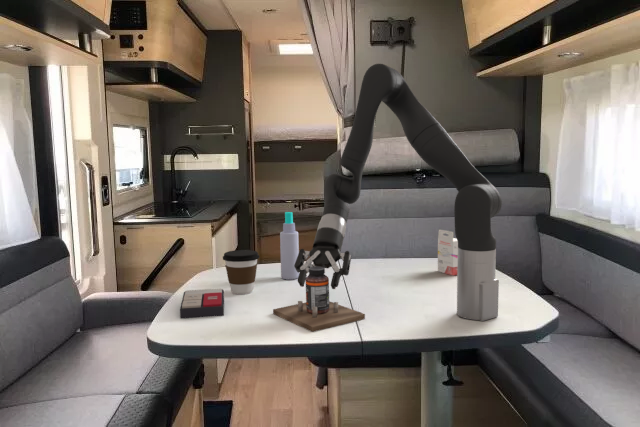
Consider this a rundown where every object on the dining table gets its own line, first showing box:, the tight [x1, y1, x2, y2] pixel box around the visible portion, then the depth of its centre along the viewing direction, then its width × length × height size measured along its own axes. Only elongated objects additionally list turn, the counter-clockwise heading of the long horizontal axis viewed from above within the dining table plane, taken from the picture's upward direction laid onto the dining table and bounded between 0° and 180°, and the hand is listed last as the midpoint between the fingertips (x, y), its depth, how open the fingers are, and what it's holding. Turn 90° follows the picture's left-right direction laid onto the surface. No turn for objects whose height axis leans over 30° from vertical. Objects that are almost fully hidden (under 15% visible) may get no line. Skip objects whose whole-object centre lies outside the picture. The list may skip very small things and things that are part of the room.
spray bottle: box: [279, 211, 300, 281], centre depth 180 cm, size 6×6×22 cm
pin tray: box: [272, 300, 366, 333], centre depth 139 cm, size 18×16×4 cm
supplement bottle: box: [305, 267, 330, 314], centre depth 138 cm, size 6×6×11 cm
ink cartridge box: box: [437, 229, 458, 277], centre depth 185 cm, size 9×5×15 cm, turn 25°
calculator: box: [179, 288, 225, 319], centre depth 147 cm, size 11×4×15 cm
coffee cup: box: [222, 249, 260, 295], centre depth 164 cm, size 11×11×12 cm
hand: (316, 286), depth 137 cm, fingers open, 8 cm apart
